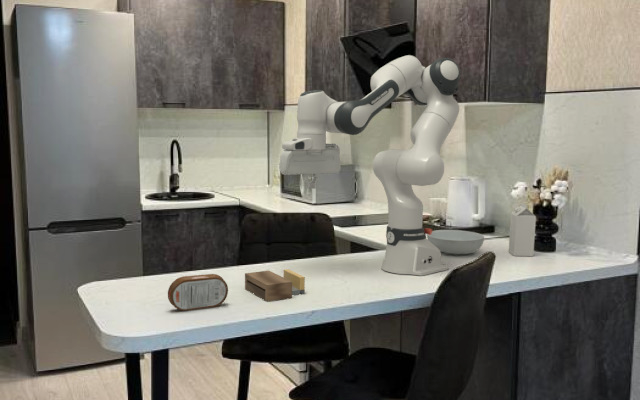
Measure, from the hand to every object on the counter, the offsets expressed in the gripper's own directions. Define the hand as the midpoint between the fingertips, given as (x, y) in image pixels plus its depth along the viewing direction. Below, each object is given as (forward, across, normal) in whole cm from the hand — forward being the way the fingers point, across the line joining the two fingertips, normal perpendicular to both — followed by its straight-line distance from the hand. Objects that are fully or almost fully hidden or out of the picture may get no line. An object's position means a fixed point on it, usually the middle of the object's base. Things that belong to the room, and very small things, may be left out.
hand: (310, 188), depth 186 cm
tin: (+27, +43, +18) cm, 54 cm away
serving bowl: (+28, -65, -3) cm, 71 cm away
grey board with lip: (+27, +19, +14) cm, 36 cm away
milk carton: (+28, -85, +11) cm, 90 cm away
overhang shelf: (+27, +22, +14) cm, 37 cm away
